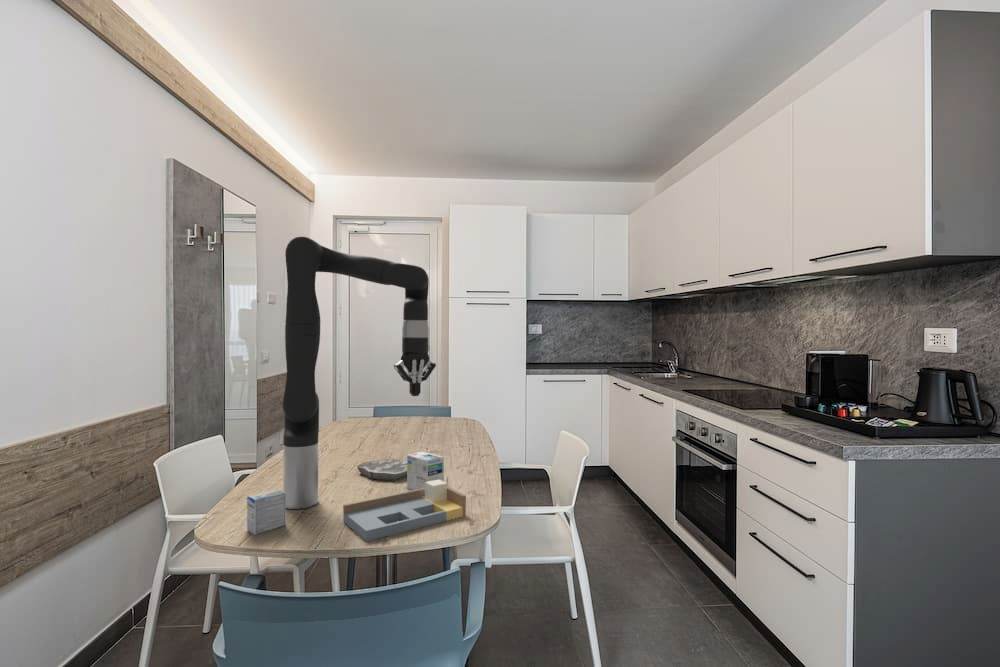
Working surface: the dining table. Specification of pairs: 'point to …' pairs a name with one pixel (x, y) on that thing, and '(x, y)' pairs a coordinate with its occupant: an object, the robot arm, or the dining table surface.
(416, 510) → the trap deck
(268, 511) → the medicine box
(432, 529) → the dining table surface
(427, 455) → the light bulb box
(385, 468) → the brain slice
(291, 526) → the dining table surface
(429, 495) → the ivory block
